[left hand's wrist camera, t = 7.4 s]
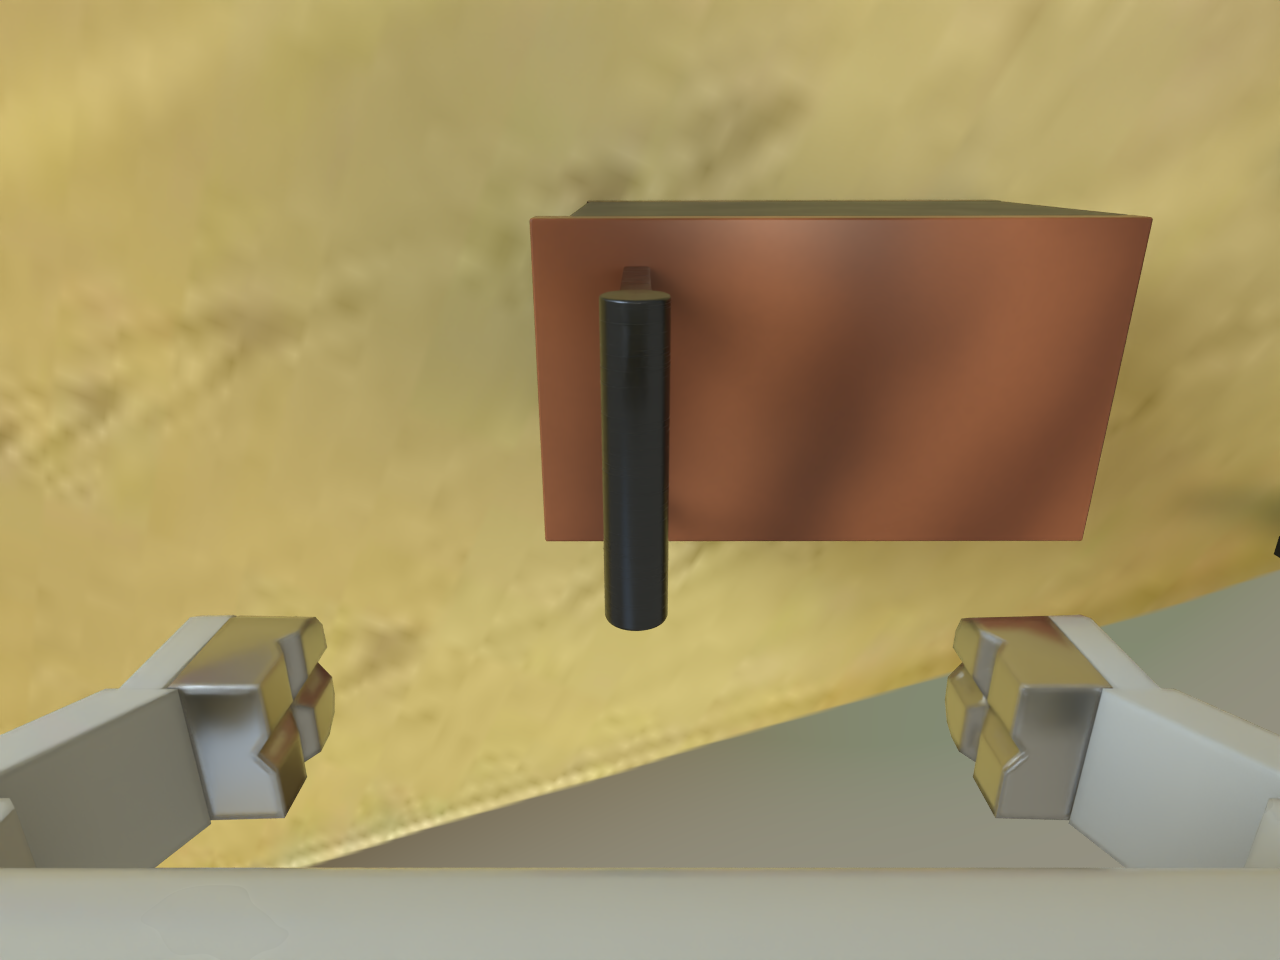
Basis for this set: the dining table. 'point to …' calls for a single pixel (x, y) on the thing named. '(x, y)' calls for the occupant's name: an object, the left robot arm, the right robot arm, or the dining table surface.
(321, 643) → the left robot arm
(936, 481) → the lid
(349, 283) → the dining table surface
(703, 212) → the chest
